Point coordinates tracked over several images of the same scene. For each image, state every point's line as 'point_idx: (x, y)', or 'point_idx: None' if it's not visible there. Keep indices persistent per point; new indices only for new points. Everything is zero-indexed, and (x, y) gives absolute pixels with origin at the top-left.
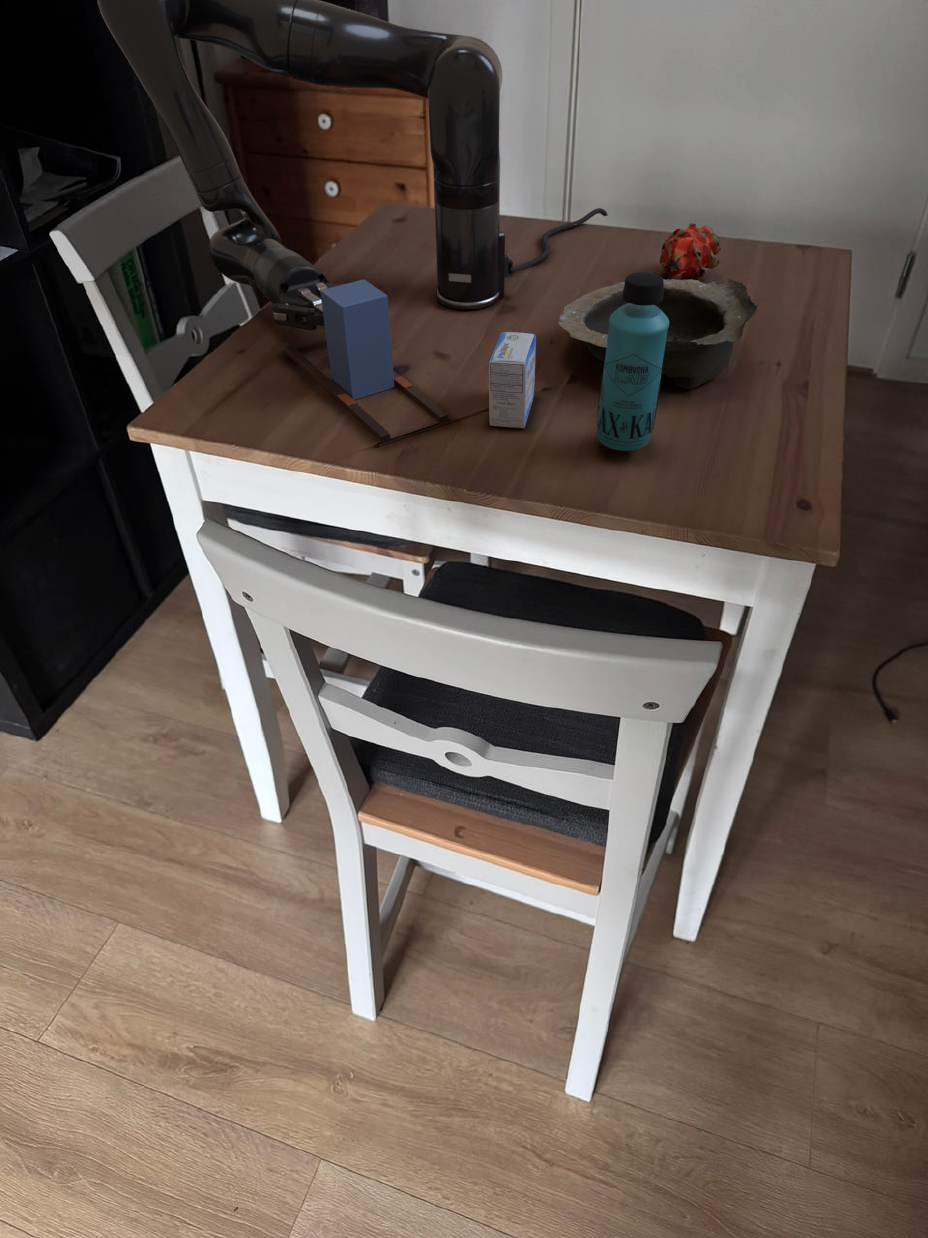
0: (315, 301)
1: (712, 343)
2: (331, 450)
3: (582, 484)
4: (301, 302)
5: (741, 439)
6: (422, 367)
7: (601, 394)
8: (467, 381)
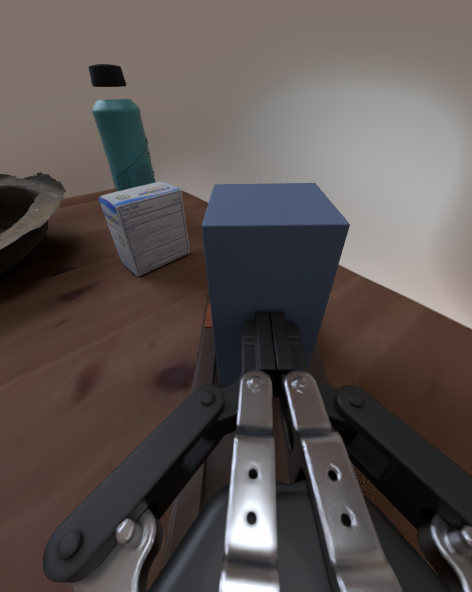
0: (326, 431)
1: (19, 181)
2: (339, 278)
3: (194, 212)
4: (386, 523)
5: (89, 207)
6: (142, 366)
7: (147, 178)
8: (134, 310)
